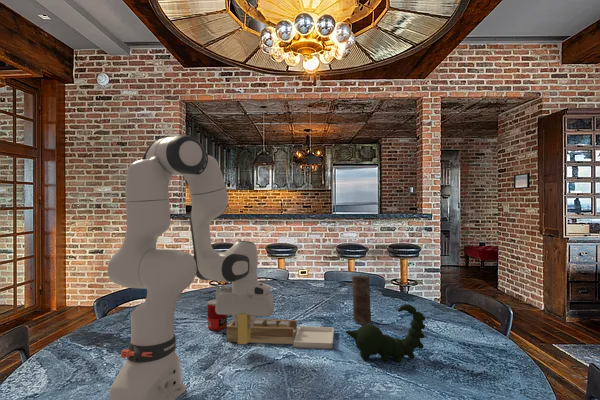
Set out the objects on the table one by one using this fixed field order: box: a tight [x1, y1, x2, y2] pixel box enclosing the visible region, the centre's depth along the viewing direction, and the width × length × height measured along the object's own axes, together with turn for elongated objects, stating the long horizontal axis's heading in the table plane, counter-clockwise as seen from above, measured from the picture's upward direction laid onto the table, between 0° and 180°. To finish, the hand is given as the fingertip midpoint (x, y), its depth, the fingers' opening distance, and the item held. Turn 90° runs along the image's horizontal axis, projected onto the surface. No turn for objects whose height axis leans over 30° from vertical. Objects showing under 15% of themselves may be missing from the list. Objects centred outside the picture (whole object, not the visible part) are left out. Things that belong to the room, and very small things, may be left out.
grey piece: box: [267, 321, 276, 327], centre depth 134 cm, size 4×4×4 cm
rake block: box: [237, 313, 251, 345], centre depth 122 cm, size 5×3×10 cm, turn 173°
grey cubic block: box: [253, 320, 264, 327], centre depth 135 cm, size 4×4×4 cm
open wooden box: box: [226, 317, 298, 345], centre depth 135 cm, size 10×25×6 cm, turn 83°
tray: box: [292, 325, 335, 350], centre depth 132 cm, size 16×14×2 cm
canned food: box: [206, 298, 228, 332], centre depth 146 cm, size 8×8×11 cm
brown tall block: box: [351, 275, 372, 326], centre depth 151 cm, size 8×7×20 cm
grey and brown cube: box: [278, 321, 290, 327], centre depth 134 cm, size 4×4×4 cm
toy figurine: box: [345, 304, 426, 364], centre depth 115 cm, size 9×19×25 cm
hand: (244, 327), depth 121 cm, fingers closed on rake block, 3 cm apart
